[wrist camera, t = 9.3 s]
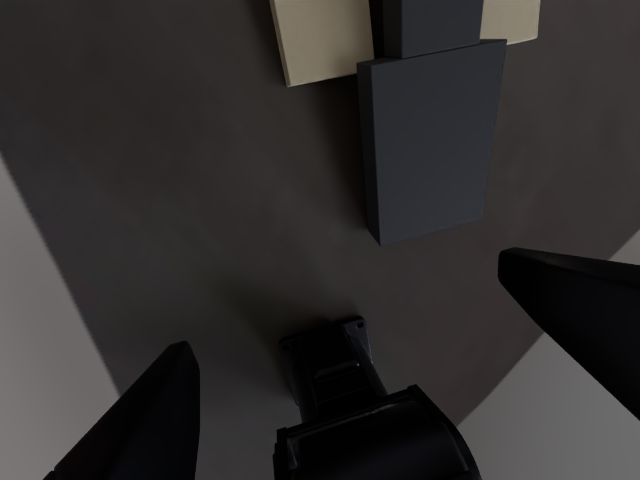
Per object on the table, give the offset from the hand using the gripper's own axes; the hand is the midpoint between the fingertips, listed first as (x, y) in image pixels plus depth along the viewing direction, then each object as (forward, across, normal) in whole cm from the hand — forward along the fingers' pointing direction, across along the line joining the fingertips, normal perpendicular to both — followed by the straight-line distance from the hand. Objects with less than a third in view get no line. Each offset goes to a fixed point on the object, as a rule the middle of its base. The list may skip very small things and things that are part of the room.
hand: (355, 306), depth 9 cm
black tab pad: (+11, -8, -3) cm, 14 cm away
